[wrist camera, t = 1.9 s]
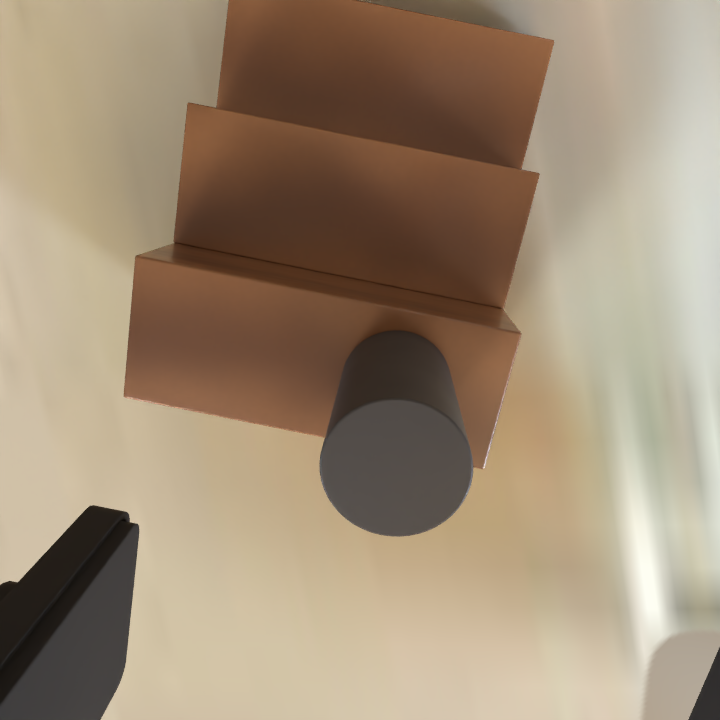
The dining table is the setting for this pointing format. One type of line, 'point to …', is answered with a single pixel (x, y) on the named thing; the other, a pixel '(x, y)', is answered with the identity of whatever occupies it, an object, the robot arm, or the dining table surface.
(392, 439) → the cylinder
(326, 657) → the dining table surface
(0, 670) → the robot arm
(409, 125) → the step rack
